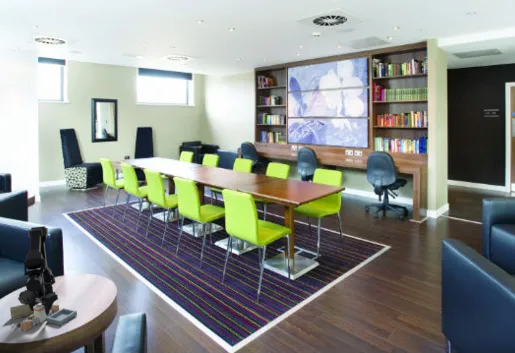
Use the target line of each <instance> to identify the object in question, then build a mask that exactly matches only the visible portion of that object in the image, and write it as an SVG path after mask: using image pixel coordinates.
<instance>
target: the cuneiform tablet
mask: <svg viewBox="0 0 515 353" xmlns="http://www.w3.org/2000/svg"><path fill="white" fill-rule="evenodd" d="M39 303H40V301H36V305H37V304H39ZM9 311H10V320H15V319H19V318H23V317H24V318H25V317H29V316H31V315H33V314H34V311H33V312H32V311H31V309H30V307H29V305H25V304H18V305H14V306H10V309H9Z"/></svg>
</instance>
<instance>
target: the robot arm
mask: <svg viewBox="0 0 515 353" xmlns="http://www.w3.org/2000/svg"><path fill="white" fill-rule="evenodd" d="M30 228H31V229H27V234H28V235H27V237H28V238H30V246H29V247H30V248H29V252H28V253H27V254H26V257H25V260H24V262H23V263H24V270H23V272H24V276H28V278H27V281H26V284H25V288H26V289H25V290H23V291H21V292H20V293H19V294H18V297H17V300H18V301H19V303H20V305H23V304H25V305H29V307H30V309H31V311H32V312H33V313H34V311H33V307H34V306H36V302H37V299H39V300H40V303H42V304H41V305H43V306H44V309H45V313H46V315H48V314H49V312H50V310H51V307H52V305H53V304H55V302H56V301H57V300H59V297H58V296H59V295H58V294H56V292H55V291H54V290H53V289H54V287H53V285H55V284H56V278H55V275H54V274H53V273H52V269H51V268H50V267H49V266H48V262H47V253H46V245H45V242H46V240H47V238H48V235H49V229H48V227H46V226H45V225H44V226H34V227H30Z"/></svg>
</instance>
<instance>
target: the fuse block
mask: <svg viewBox="0 0 515 353" xmlns="http://www.w3.org/2000/svg"><path fill="white" fill-rule="evenodd" d="M52 314H53V312H52V310H50V312H49V314H48V315H47V317H49V316H50V315H52ZM25 319H28V320H31V325H32V327H35V326H36V325H38V324H40V323H39V319H38V318H35V317H34V313H33V314H32V315H30V316H27V317H26V318H25ZM25 319H23V320H25ZM23 320H21V321H19V322H17V323H16V327H17V328H21V325H20V322H22V321H23ZM35 323H36V324H35Z"/></svg>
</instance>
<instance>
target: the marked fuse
mask: <svg viewBox="0 0 515 353" xmlns="http://www.w3.org/2000/svg"><path fill="white" fill-rule="evenodd" d="M41 304H42V303H41V302H39V304H37V305H36V306H34V307H33V314H34V317H35V318H38V319H39V324H41V323H43V322H44V321H47V315H46V313H45V309H44V306H43V305H41Z"/></svg>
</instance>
